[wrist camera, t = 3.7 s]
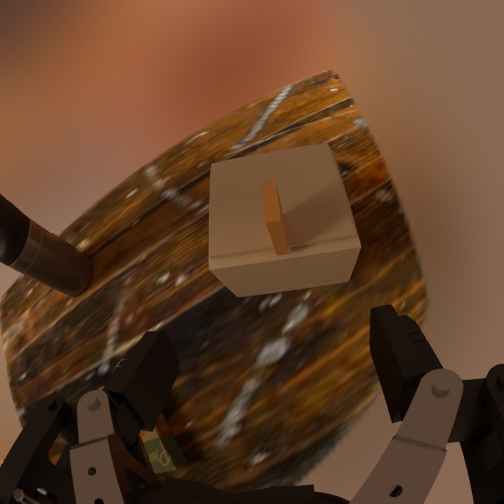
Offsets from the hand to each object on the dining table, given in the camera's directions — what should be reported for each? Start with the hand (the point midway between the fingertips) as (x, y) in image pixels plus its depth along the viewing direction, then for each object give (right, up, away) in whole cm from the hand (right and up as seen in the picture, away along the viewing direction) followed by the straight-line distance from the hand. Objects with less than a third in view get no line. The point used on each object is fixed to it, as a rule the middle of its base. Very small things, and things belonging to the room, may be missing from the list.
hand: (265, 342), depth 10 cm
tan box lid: (+2, +9, +20) cm, 22 cm away
